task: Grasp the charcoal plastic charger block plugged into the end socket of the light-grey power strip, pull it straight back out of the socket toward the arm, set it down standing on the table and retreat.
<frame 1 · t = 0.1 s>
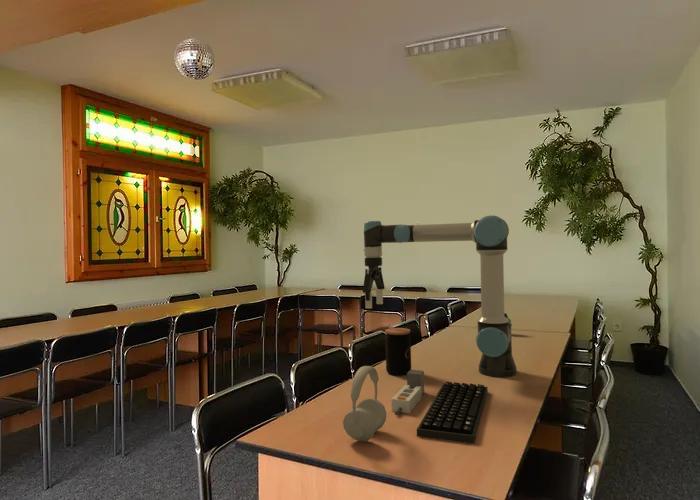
hand: (374, 306, 202), 28 cm above the table, fingers open, 13 cm apart
beverage can: (502, 334, 271), on the table
coffee jar: (398, 372, 199), on the table
strip: (407, 404, 160), on the table
headphones: (366, 436, 135), on the table
charger: (415, 393, 171), on the table
computer keyboard: (456, 414, 152), on the table
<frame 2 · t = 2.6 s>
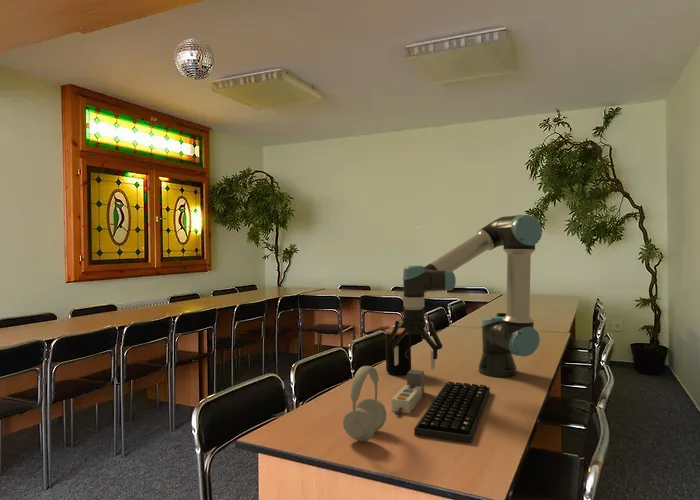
hand: (414, 366, 170), 10 cm above the table, fingers open, 13 cm apart
nothing on the table moved.
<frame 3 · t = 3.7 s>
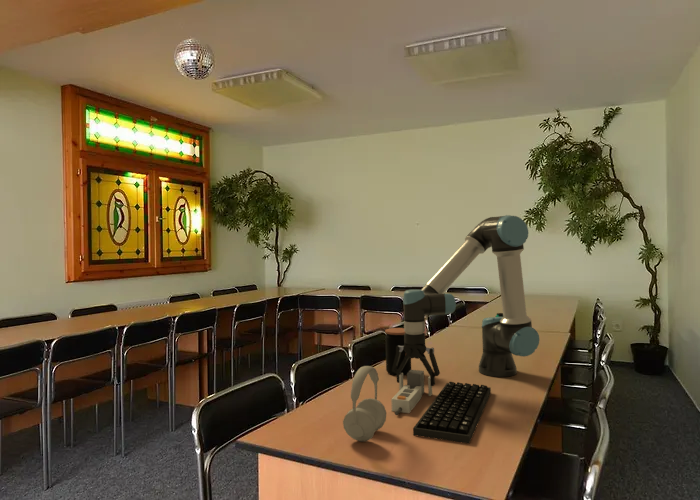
hand: (415, 393, 171), 0 cm above the table, fingers open, 10 cm apart
nothing on the table moved.
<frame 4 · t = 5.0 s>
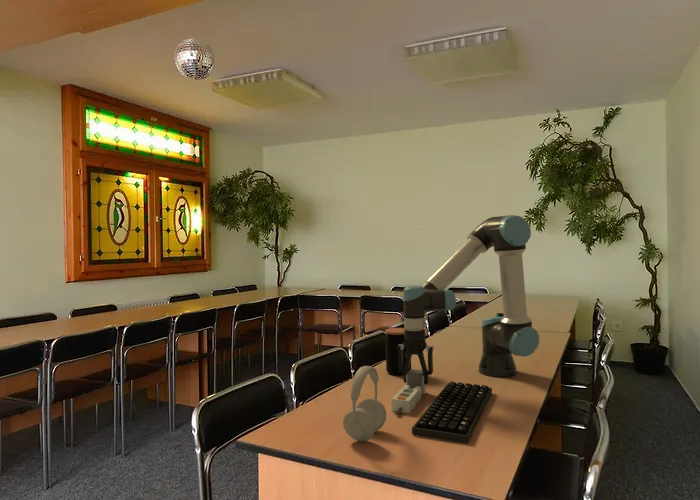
hand: (416, 392, 171), 0 cm above the table, fingers closed on charger, 5 cm apart
charger: (416, 393, 171), on the table, touching gripper
everything else where it was.
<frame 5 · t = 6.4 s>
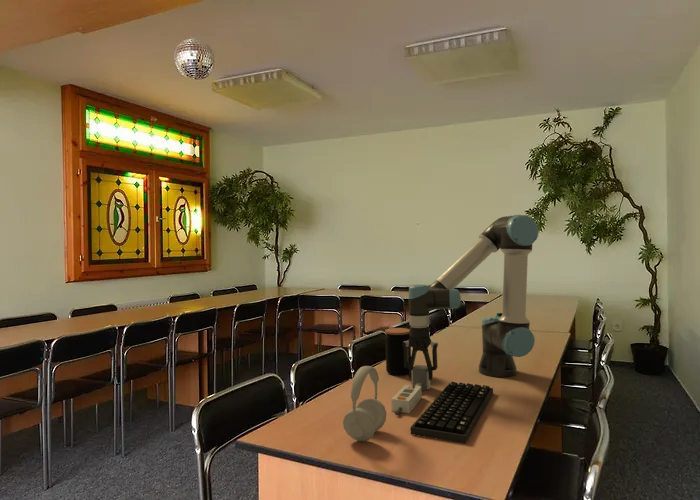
hand: (421, 387, 177), 0 cm above the table, fingers closed on charger, 5 cm apart
charger: (421, 388, 177), on the table, touching gripper
when the fingers open (0 cm above the table, at t = 7.9 s): charger stays where it is, on the table.
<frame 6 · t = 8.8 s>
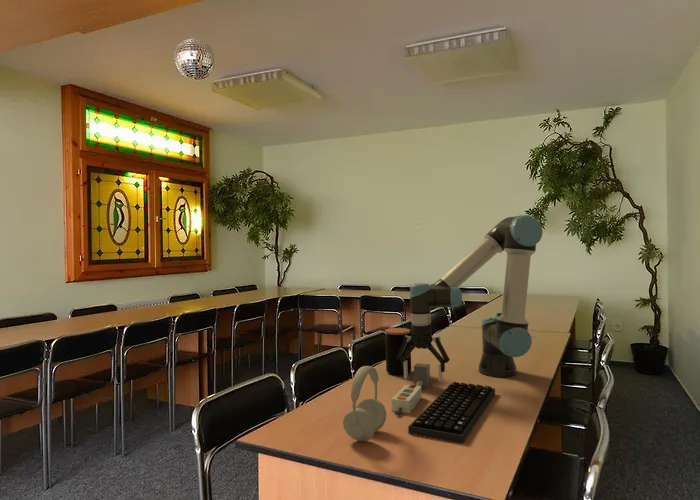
hand: (423, 379, 179), 3 cm above the table, fingers open, 13 cm apart
charger: (422, 386, 180), on the table
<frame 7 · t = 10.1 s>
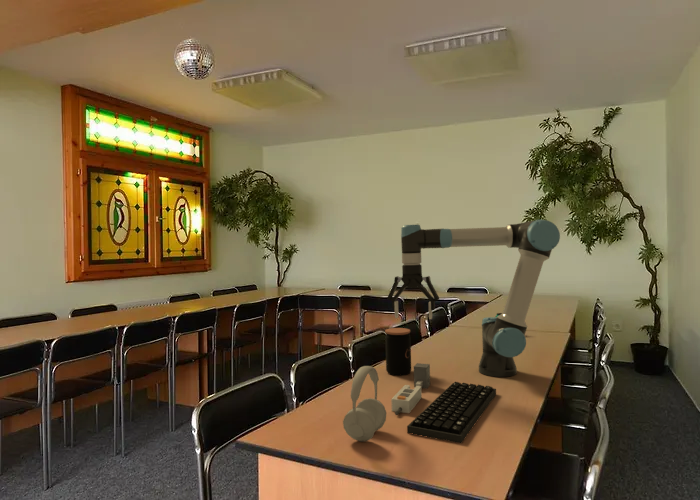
hand: (413, 318, 183), 25 cm above the table, fingers open, 13 cm apart
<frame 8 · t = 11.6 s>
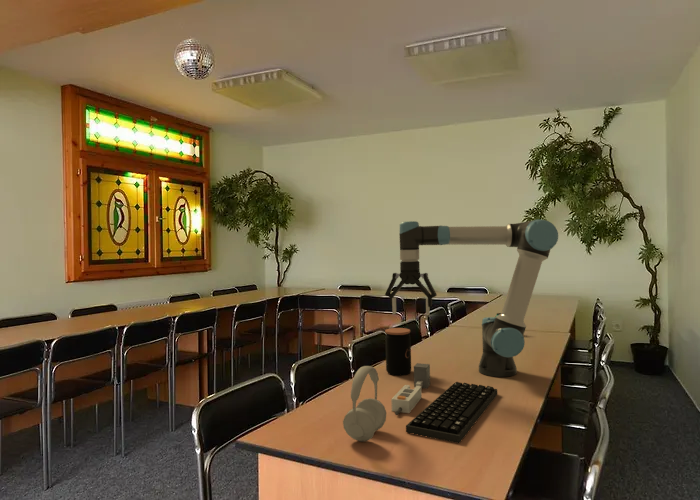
hand: (410, 314, 185), 27 cm above the table, fingers open, 13 cm apart
at the end: charger inside the target area on the table beside the strip (3.4 cm from its centre), on the table; charger tilted 0°; the gripper is holding nothing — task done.
